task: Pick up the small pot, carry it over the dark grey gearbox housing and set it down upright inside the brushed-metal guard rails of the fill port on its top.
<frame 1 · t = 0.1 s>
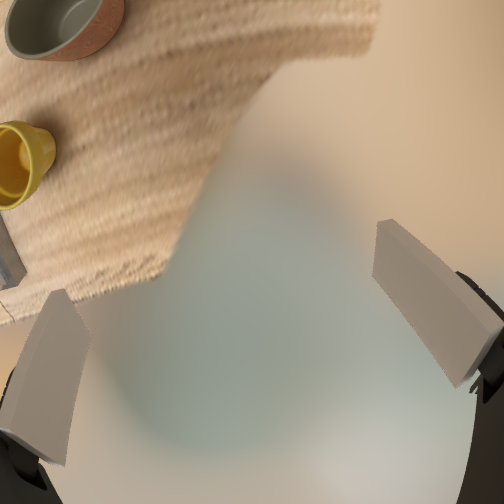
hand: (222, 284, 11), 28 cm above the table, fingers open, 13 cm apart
plant pot: (38, 149, 29), on the table
planter: (87, 23, 22), on the table
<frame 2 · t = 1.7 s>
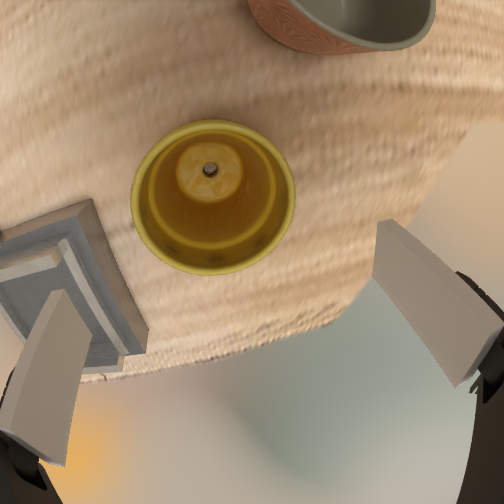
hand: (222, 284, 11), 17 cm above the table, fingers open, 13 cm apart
plant pot: (208, 167, 25), on the table
planter: (303, 5, 18), on the table
gearbox housing: (59, 286, 29), on the table
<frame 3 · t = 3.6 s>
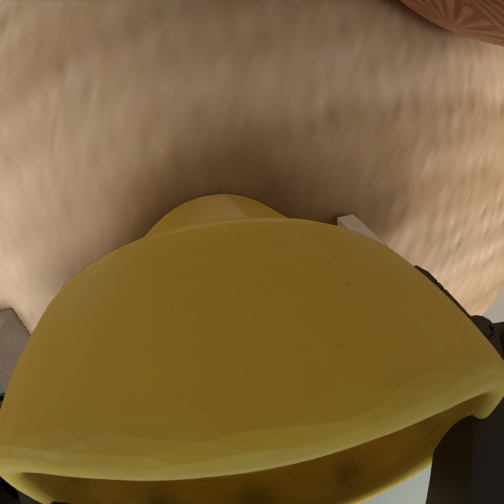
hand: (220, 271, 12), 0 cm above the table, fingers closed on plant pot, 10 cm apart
plant pot: (219, 263, 12), on the table, touching gripper
gearbox housing: (12, 396, 15), on the table
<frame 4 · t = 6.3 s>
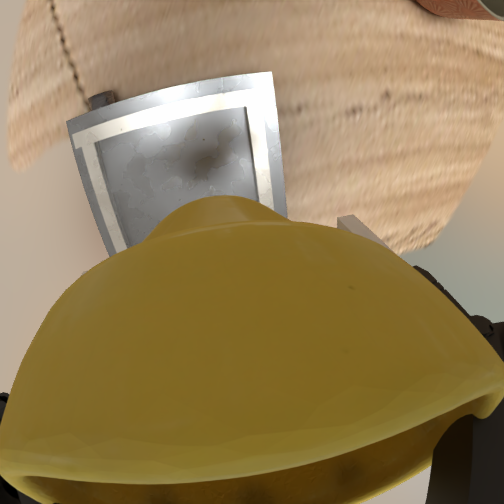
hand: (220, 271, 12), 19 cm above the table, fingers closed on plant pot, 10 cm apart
plant pot: (220, 264, 12), point 18 cm above the table, touching gripper
gearbox housing: (184, 176, 28), on the table
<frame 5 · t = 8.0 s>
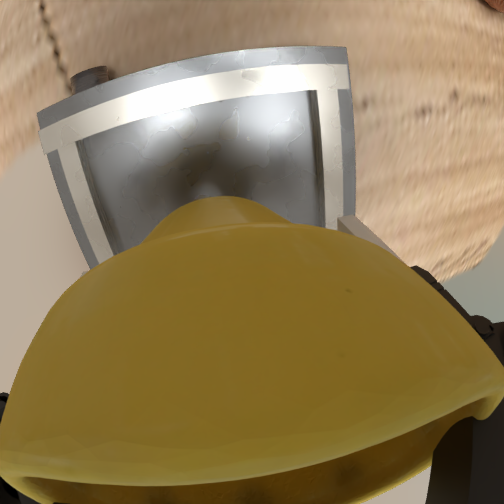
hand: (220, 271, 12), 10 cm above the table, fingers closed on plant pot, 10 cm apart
plant pot: (220, 265, 12), point 9 cm above the table, touching gripper
gearbox housing: (211, 191, 20), on the table
when the fingers open (7 cm above the table, at t = 9.2 s): plant pot drops 2 cm, resting on gearbox housing.
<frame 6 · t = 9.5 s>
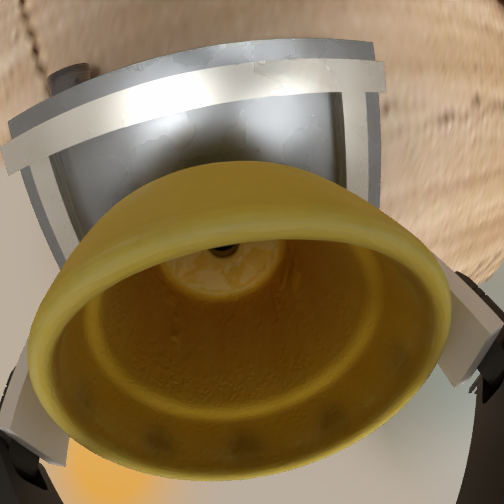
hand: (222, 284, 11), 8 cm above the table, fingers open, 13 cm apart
plant pot: (218, 233, 14), point 4 cm above the table, touching gearbox housing
gearbox housing: (212, 208, 17), on the table
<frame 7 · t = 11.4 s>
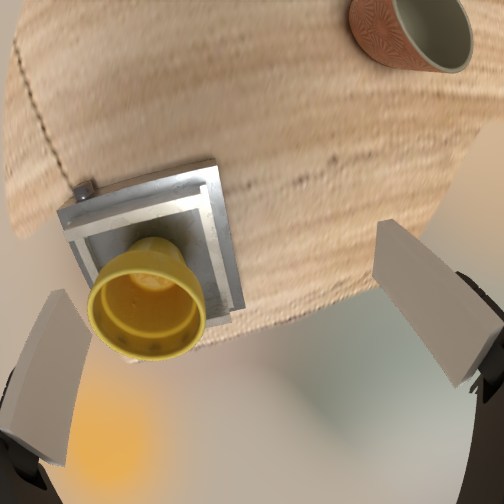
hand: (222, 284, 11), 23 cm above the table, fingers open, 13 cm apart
plant pot: (154, 261, 31), point 4 cm above the table, touching gearbox housing
planter: (379, 29, 25), on the table
gearbox housing: (157, 247, 34), on the table
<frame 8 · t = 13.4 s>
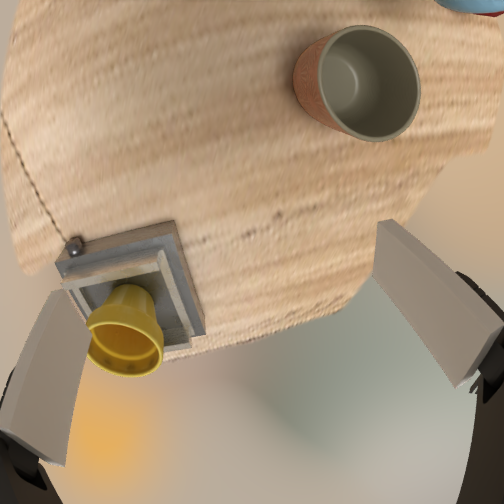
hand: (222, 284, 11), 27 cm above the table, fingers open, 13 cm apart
plant pot: (131, 300, 38), point 4 cm above the table, touching gearbox housing
planter: (329, 83, 31), on the table
gearbox housing: (135, 285, 41), on the table
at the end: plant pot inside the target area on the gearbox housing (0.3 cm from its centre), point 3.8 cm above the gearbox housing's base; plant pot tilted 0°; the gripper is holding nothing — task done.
